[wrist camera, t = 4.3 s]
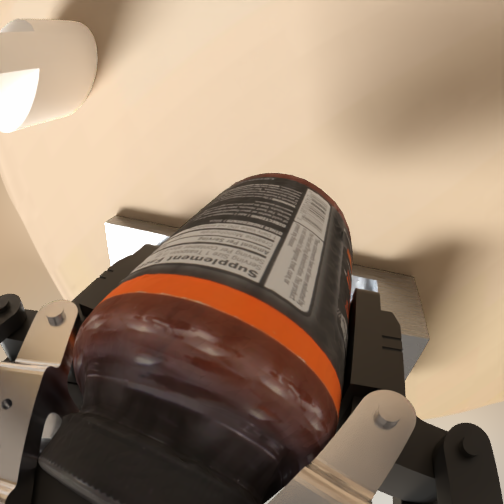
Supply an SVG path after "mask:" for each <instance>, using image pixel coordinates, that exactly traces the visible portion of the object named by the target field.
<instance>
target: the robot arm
mask: <svg viewBox="0 0 504 504" xmlns="http://www.w3.org/2000/svg"><path fill="white" fill-rule="evenodd" d="M158 247H159V246H157V245H152V244H144V245H143V246H142V247H141V248H139V249H138V250H137V251H136V252H135V253H134V254H132V255H128V256H126V257H124V258H122V259H120V260H118V261H116V262H115V263H114V264H113V265H112V266H111V267H109V268H108V270H107V271H105V272H104V273H103V274H101V275H100V278H97V279H96V280H95V281H94V282H92V283H91V284H90V285H89V286H88V287H87V288H86V289H85V290H84V291H82V292H81V293H80V294H79V295H78V296H77V297H76V298H75V299H74V300H73V301H68V300H56V301H52V302H50V303H48V304H46V305H45V306H43V307H42V308H41V309H40V310H39V311H34V310H26V309H24V307H23V305H22V302H21V300H20V298H19V296H17V295H15V294H5V295H2V296H0V344H1V346H2V348H3V350H4V351H5V353H6V355H7V356H8V358H6V359H5V360H4V361H1V362H0V504H92V503H91V502H89V501H87V500H86V499H84V498H82V497H81V496H79V495H78V494H76V493H75V492H73V491H72V490H70V489H69V488H67V487H66V486H64V485H63V484H61V483H60V482H59V481H57V480H56V479H55V478H53V477H52V476H51V475H49V474H48V473H47V472H46V471H44V470H43V469H42V468H41V466H40V465H39V463H38V458H39V456H40V454H41V453H42V451H43V450H44V448H45V447H46V446H47V445H48V444H49V442H50V441H51V439H52V438H53V436H54V435H55V433H56V432H57V430H58V429H59V427H60V426H61V423H62V420H63V417H64V416H65V415H68V414H70V413H78V412H79V411H80V410H81V408H82V405H83V395H82V393H81V390H80V388H79V386H78V384H77V381H76V377H75V373H74V368H73V348H74V344H75V340H76V336H77V333H78V331H79V328H80V326H81V325H82V323H83V322H84V320H85V319H86V318H87V317H88V316H89V315H90V313H91V312H92V311H93V310H94V308H95V307H96V306H97V305H98V304H99V303H100V302H101V301H102V300H103V299H104V298H105V297H106V296H107V295H108V294H109V293H110V292H112V291H113V290H114V289H115V288H116V287H118V284H119V283H120V282H121V281H122V280H123V279H124V278H126V277H127V276H128V275H129V274H130V273H131V271H132V270H133V269H135V268H136V267H137V266H138V265H139V264H140V263H142V262H143V261H144V260H145V259H146V258H147V257H148V256H149V255H150V254H152V253H153V252H154V251H155V250H156V249H157V248H158ZM348 332H349V336H348V347H347V357H346V366H345V375H344V386H343V391H342V397H341V404H340V411H339V418H338V425H337V430H336V434H335V436H334V437H333V438H332V439H331V440H330V442H329V443H328V444H327V445H326V446H325V448H324V449H323V450H322V451H321V452H320V453H319V455H318V456H317V457H316V458H315V459H314V460H313V461H312V462H311V463H310V464H308V465H306V466H305V467H304V468H303V469H302V470H301V471H300V472H299V473H298V474H297V475H296V476H295V477H294V478H293V479H292V480H291V481H290V482H289V483H288V484H287V485H286V486H285V487H284V488H283V490H281V491H280V493H278V494H277V495H276V496H275V497H274V498H273V499H272V500H271V501H270V502H269V503H268V504H372V502H371V501H372V498H373V496H374V495H375V493H376V491H377V490H379V491H381V492H384V493H386V494H388V495H391V496H393V504H503V500H502V494H501V488H500V482H499V477H498V473H497V468H496V463H495V459H494V455H493V450H492V447H491V443H490V440H489V438H488V436H487V434H486V433H485V432H484V431H483V430H482V429H481V428H479V427H478V426H476V425H474V424H471V423H461V424H458V425H455V426H454V427H452V428H451V429H450V430H449V431H445V430H443V429H440V428H438V427H435V426H433V425H431V424H428V423H426V422H424V421H422V420H421V419H419V418H418V417H417V416H416V412H415V409H414V407H413V405H412V404H411V403H410V401H409V400H408V399H407V398H406V396H405V377H404V361H403V352H402V350H403V348H402V341H401V339H402V337H401V327H400V324H399V322H398V320H397V319H396V317H395V316H394V314H393V312H388V311H383V310H381V304H380V293H379V292H374V291H369V290H364V289H359V288H355V290H354V293H353V296H352V300H351V303H350V314H349V328H348Z"/></svg>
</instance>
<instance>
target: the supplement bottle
mask: <svg viewBox="0 0 504 504" xmlns="http://www.w3.org/2000/svg"><path fill="white" fill-rule="evenodd" d="M352 252H353V251H352V244H351V236H350V231H349V227H348V225H347V222H346V220H345V218H344V215H343V213H342V211H341V210H340V208H339V207H338V206H337V204H336V203H335V201H333V200H332V199H331V198H330V197H329V196H328V195H327V194H326V193H325V192H324V191H322V190H321V189H320V188H318V187H317V186H315V185H314V184H312V183H310V182H308V181H306V180H305V179H302V178H299V177H296V176H292V175H287V174H280V173H265V174H259V175H254V176H251V177H248V178H245V179H243V180H241V181H239V182H236V183H235V184H233V185H232V186H231V187H229V188H228V189H226V190H225V191H223V192H222V193H221V194H219V195H218V196H217V197H216V198H215V199H214V200H212V201H211V202H210V203H209V204H208V205H206V206H205V207H204V208H203V209H201V210H200V211H199V212H198V213H197V214H196V215H194V216H193V217H192V218H191V219H190V220H189V221H188V222H187V223H186V224H184V225H183V226H182V227H181V228H180V229H179V230H178V231H176V232H175V233H174V234H173V235H172V236H171V237H169V238H168V239H167V240H166V241H165V242H164V243H163V244H162V245H161V246H159V247H158V248H157V249H156V250H155V251H154V252H153V253H152V254H150V255H149V256H148V257H147V258H146V259H145V260H144V261H143V262H142V263H140V264H139V265H138V266H137V267H136V268H135V269H133V270H132V271H131V273H130V274H129V275H128V276H127V277H126V278H124V279H123V280H122V281H121V282H120V283H119V284H118V287H116V288H115V289H114V290H113V291H112V292H110V293H109V294H108V295H107V296H106V297H105V298H104V299H103V300H102V301H101V302H100V303H99V304H98V305H97V306H96V307H95V308H94V310H93V311H92V312H91V313H90V315H89V316H88V317H87V318H86V319H85V320H84V322H83V323H82V325H81V326H80V328H79V331H78V333H77V336H76V340H75V344H74V348H73V368H74V373H75V377H76V381H77V384H78V386H79V388H80V390H81V393H82V395H83V405H82V408H81V410H80V411H79V412H78V413H70V414H68V415H65V416H64V417H63V420H62V423H61V426H60V427H59V429H58V430H57V432H56V433H55V435H54V436H53V438H52V439H51V441H50V442H49V444H48V445H47V446H46V447H45V448H44V450H43V451H42V453H41V454H40V456H39V458H38V463H39V465H40V466H41V468H42V469H43V470H44V471H46V472H47V473H48V474H49V475H51V476H52V477H53V478H55V479H56V480H57V481H59V482H60V483H61V484H63V485H64V486H66V487H67V488H69V489H70V490H72V491H73V492H75V493H76V494H78V495H79V496H81V497H82V498H84V499H86V500H87V501H89V502H91V503H92V504H264V503H265V502H266V501H267V500H269V499H270V498H271V497H273V496H274V495H275V494H276V493H277V492H278V491H279V490H281V489H282V488H283V487H285V486H286V485H287V484H288V483H289V482H290V481H291V480H292V479H293V478H294V477H295V476H296V475H297V474H298V473H299V472H300V471H301V470H302V469H303V468H304V467H305V466H306V465H308V464H310V463H311V462H312V461H313V460H314V459H315V458H316V457H317V456H318V455H319V453H320V452H321V451H322V450H323V449H324V448H325V446H326V445H327V444H328V443H329V442H330V440H331V439H332V438H333V437H334V436H335V434H336V430H337V425H338V418H339V411H340V404H341V397H342V391H343V386H344V375H345V366H346V357H347V347H348V336H349V332H348V328H349V314H350V299H351V282H352V277H351V276H352V266H353V263H352Z"/></svg>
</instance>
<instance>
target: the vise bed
mask: <svg viewBox="0 0 504 504" xmlns="http://www.w3.org/2000/svg"><path fill="white" fill-rule="evenodd" d="M105 228H106V236H107V243H108V249H109V256H110V262H111V266H112V265H113V264H114V263H115V262H116V261H118V260H120V259H122V258H124V257H126V256H128V255H132V254H134V253H135V252H136V251H137V250H138V249H139V248H141V247H142V246H143V245H144V244H152V245H157V246H161V245H162V244H163V243H164V242H165V241H166V240H167V239H168V238H169V237H171V236H172V235H173V234H174V233H175V232H176V231H178V230H179V229H180V228H175V227H170V226H165V225H160V224H155V223H150V222H145V221H140V220H135V219H130V218H125V217H120V216H114V217H113V218H111V219H110V220H108V221H107V222H105ZM351 277H352V282H351V299H350V303H351V300H352V296H353V293H354V290H355V288H359V289H364V290H369V291H374V292H379V293H380V304H381V310H383V311H388V312H393V314H394V316H395V317H396V319H397V320H398V322H399V324H400V327H401V337H402V339H401V341H402V348H403V350H402V352H403V361H404V377H405V380H406V378H407V376H408V375H409V373H410V372H411V370H412V368H413V367H414V365H415V363H416V362H417V360H418V358H419V357H420V355H421V353H422V351H423V350H424V348H425V346H426V344H427V343H428V341H429V334H428V330H427V326H426V321H425V317H424V313H423V309H422V305H421V301H420V298H419V294H418V290H417V287H416V283H415V280H414V277H410V276H406V275H401V274H397V273H392V272H387V271H383V270H378V269H373V268H369V267H364V266H359V265H355V264H353V266H352V276H351Z"/></svg>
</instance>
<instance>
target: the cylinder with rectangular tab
mask: <svg viewBox="0 0 504 504" xmlns="http://www.w3.org/2000/svg"><path fill="white" fill-rule="evenodd" d="M97 63H98V56H97V46H96V42H95V39H94V36H93V34H92V33H91V31H90V30H89V28H88V27H87V26H85V25H84V24H82V23H81V22H77V21H70V20H54V19H16V20H13V21H11V22H9V23H8V24H7V25H5V26H4V27H3V28H2V29H1V31H0V131H1V132H7V133H10V132H13V131H16V130H19V129H23V128H26V127H29V126H33V125H36V124H40V123H44V122H47V121H51V120H55V119H59V118H63V117H66V116H69V115H71V114H73V113H74V112H75V111H77V110H78V109H79V108H80V107H81V105H82V104H83V103H84V102H85V100H86V99H87V97H88V95H89V93H90V91H91V89H92V86H93V83H94V80H95V76H96V71H97Z"/></svg>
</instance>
